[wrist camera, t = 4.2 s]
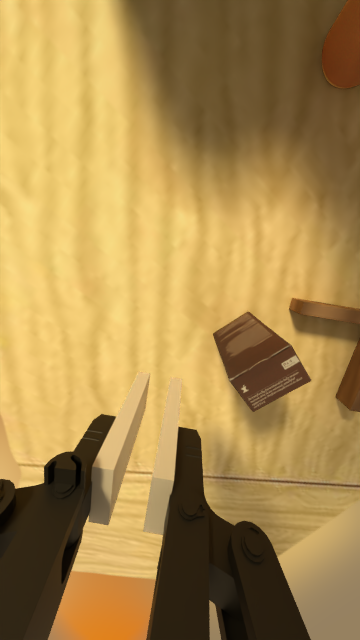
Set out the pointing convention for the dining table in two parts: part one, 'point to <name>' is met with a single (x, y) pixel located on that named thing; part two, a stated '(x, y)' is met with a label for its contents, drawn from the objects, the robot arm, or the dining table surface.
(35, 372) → the dining table surface
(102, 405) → the dining table surface
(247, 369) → the box
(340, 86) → the beverage can
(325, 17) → the dining table surface
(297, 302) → the corner fence
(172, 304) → the dining table surface
